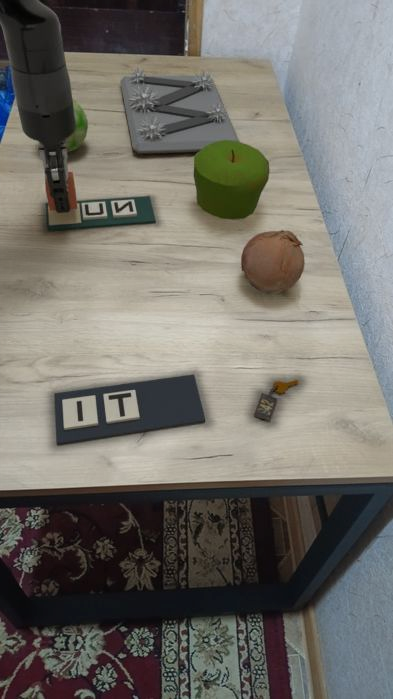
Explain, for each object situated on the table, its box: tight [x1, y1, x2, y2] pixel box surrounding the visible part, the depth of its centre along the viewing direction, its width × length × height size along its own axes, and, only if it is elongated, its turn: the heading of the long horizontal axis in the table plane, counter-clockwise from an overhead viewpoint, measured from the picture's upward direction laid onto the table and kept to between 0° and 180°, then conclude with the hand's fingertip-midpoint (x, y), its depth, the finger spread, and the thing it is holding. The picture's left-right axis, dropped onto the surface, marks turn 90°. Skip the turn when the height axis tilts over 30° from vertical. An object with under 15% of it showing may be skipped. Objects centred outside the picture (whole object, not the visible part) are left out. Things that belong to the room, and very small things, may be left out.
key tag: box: [253, 379, 299, 422], centre depth 64 cm, size 8×3×1 cm, turn 144°
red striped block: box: [44, 171, 78, 211], centre depth 79 cm, size 4×4×4 cm
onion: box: [240, 229, 306, 295], centre depth 73 cm, size 10×9×10 cm
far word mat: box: [45, 195, 157, 232], centre depth 84 cm, size 18×7×1 cm, turn 102°
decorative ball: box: [66, 98, 89, 153], centre depth 92 cm, size 10×10×10 cm
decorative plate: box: [119, 65, 241, 155], centre depth 103 cm, size 30×22×7 cm
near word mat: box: [53, 373, 206, 446], centre depth 61 cm, size 18×7×1 cm, turn 102°
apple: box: [193, 140, 270, 221], centre depth 83 cm, size 12×12×11 cm
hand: (62, 201), depth 81 cm, fingers closed on red striped block, 4 cm apart
